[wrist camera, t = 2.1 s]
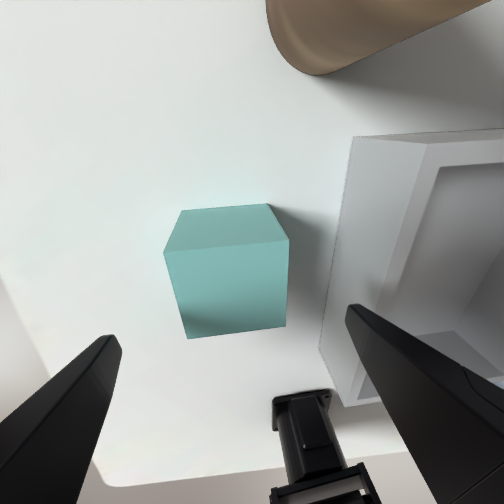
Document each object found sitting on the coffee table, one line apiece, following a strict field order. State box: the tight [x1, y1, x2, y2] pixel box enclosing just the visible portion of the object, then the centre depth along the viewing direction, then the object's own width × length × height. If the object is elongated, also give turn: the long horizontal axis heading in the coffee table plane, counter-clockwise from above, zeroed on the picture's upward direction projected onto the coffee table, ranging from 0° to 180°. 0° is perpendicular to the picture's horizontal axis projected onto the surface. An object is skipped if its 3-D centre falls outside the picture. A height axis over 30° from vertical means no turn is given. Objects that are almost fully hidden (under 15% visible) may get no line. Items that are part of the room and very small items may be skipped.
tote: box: [319, 128, 504, 408], centre depth 15 cm, size 18×14×5 cm
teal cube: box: [163, 203, 289, 339], centre depth 12 cm, size 5×5×5 cm
